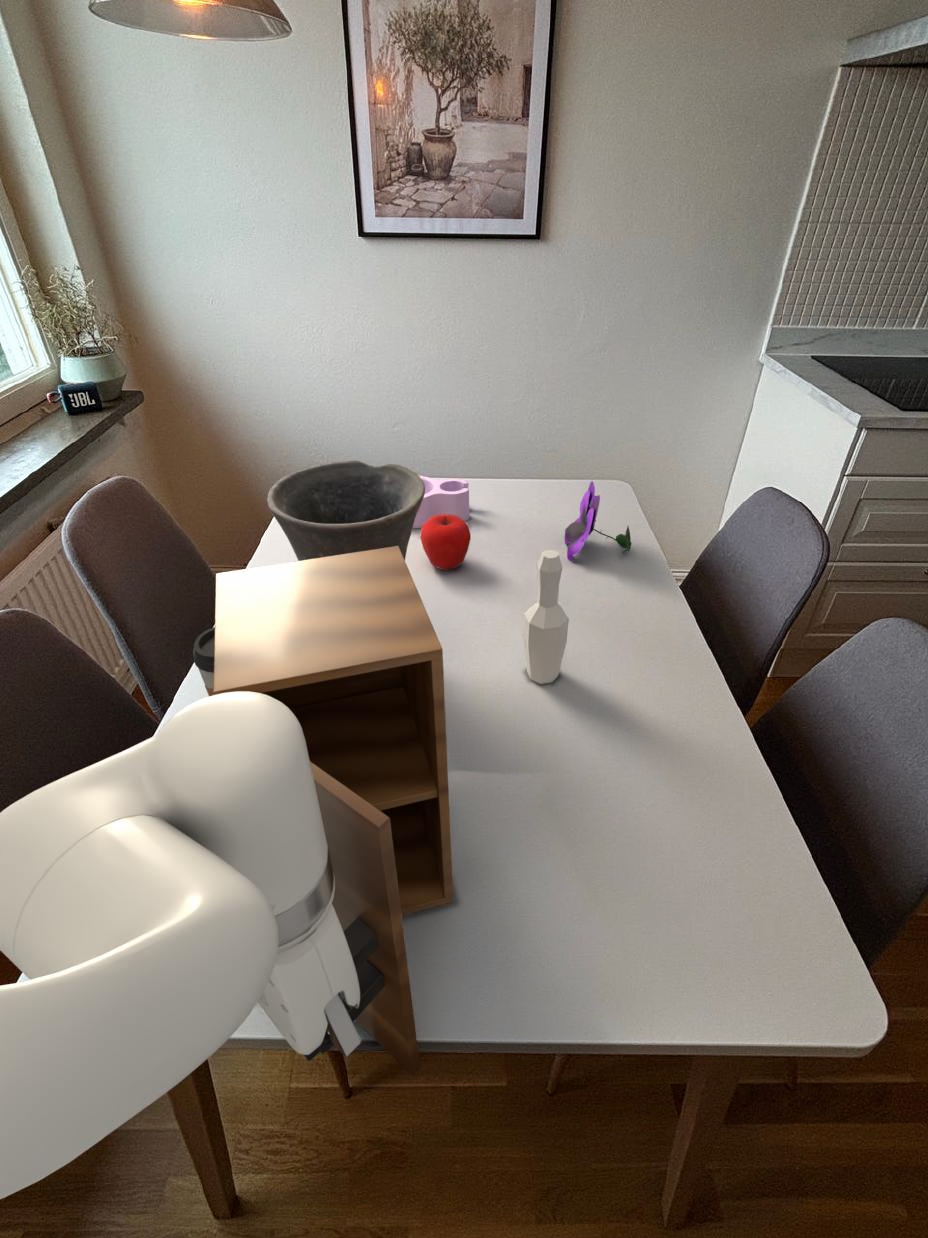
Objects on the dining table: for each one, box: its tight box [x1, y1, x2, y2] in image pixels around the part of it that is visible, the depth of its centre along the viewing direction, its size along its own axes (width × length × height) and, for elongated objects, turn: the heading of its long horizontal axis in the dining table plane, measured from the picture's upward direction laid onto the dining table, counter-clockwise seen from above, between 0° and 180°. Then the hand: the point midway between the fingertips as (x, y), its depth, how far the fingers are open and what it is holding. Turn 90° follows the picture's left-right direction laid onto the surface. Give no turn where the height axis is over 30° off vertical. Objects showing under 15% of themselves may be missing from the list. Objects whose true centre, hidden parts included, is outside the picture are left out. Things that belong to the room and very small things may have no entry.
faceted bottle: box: [522, 549, 570, 685], centre depth 102 cm, size 6×6×22 cm
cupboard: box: [214, 546, 454, 916], centre depth 71 cm, size 18×18×36 cm
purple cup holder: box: [412, 475, 470, 529], centre depth 152 cm, size 20×12×7 cm, turn 91°
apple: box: [419, 514, 472, 571], centre depth 133 cm, size 10×10×11 cm
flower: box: [564, 480, 633, 563], centre depth 137 cm, size 15×15×14 cm
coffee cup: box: [192, 626, 215, 697], centre depth 96 cm, size 8×8×15 cm
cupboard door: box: [310, 762, 421, 1077], centre depth 55 cm, size 8×18×36 cm, turn 51°
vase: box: [266, 460, 425, 561], centre depth 104 cm, size 22×22×30 cm
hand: (312, 1026), depth 50 cm, fingers closed on cupboard door, 2 cm apart
